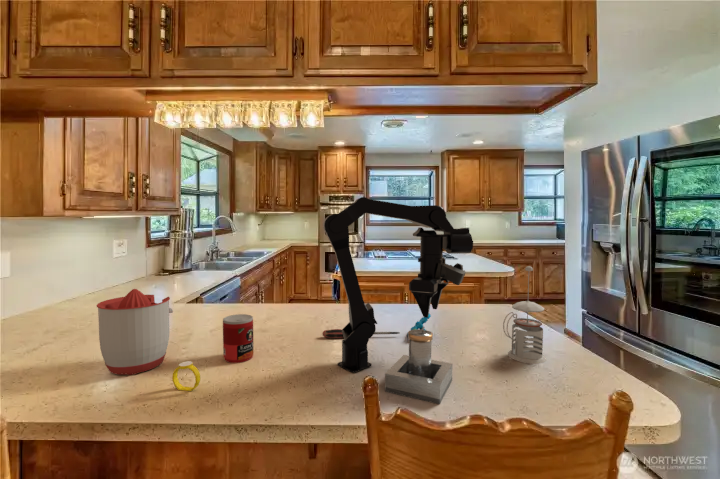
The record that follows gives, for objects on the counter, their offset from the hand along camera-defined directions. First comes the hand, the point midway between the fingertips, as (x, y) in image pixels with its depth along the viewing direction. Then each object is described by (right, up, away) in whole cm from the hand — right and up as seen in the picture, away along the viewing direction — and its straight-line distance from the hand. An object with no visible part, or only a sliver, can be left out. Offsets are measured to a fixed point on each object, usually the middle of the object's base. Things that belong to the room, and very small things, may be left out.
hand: (430, 312), depth 93 cm
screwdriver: (-18, -12, +20) cm, 30 cm away
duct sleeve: (-5, -13, -13) cm, 19 cm away
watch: (-57, -14, -15) cm, 61 cm away
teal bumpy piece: (0, -12, +21) cm, 24 cm away
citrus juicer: (-75, -13, -2) cm, 76 cm away
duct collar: (-5, -14, -13) cm, 20 cm away
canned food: (-52, -13, +3) cm, 53 cm away
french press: (+26, -13, +4) cm, 30 cm away
